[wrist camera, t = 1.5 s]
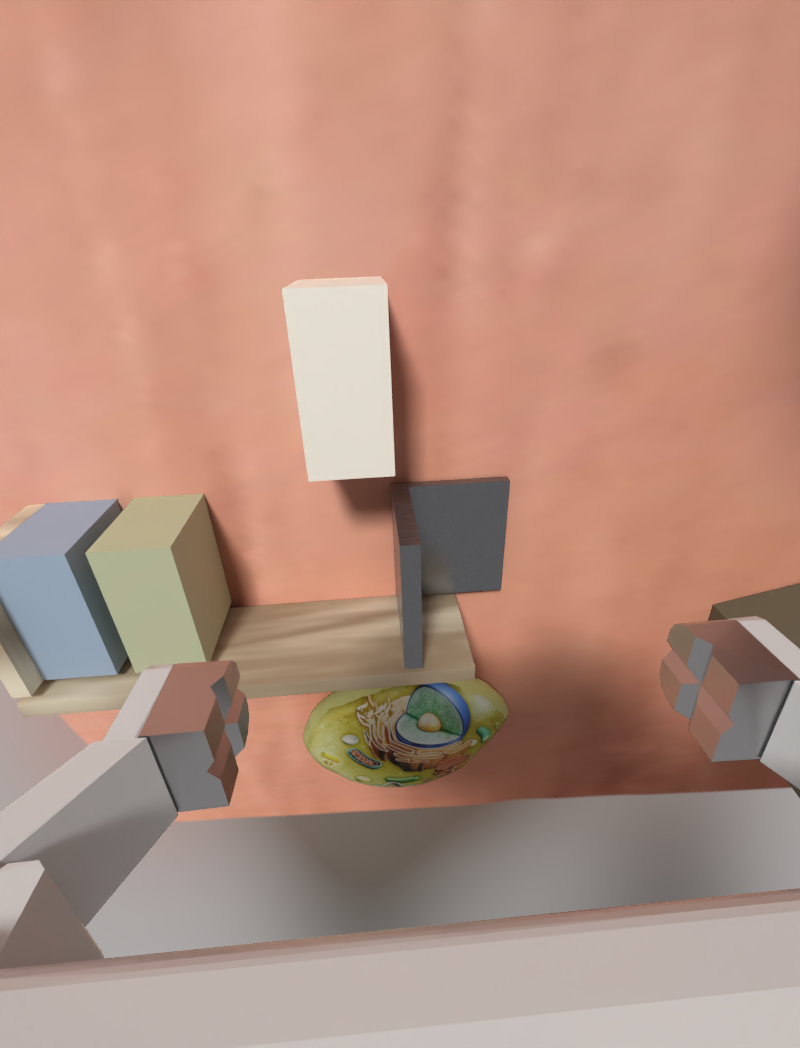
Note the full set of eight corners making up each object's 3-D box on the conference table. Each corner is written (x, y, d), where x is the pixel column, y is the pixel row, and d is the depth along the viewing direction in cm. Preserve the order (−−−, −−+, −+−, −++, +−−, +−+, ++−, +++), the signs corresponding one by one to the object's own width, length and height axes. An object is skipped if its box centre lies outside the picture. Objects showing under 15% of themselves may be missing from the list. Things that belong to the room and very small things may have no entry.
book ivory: (298, 279, 24) (281, 288, 19) (380, 276, 24) (387, 284, 19) (317, 437, 28) (308, 481, 22) (388, 433, 28) (395, 476, 23)
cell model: (283, 692, 34) (492, 721, 29) (331, 635, 41) (507, 651, 36) (308, 807, 37) (500, 851, 32) (349, 737, 44) (513, 765, 39)
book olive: (134, 497, 29) (84, 553, 23) (204, 493, 29) (170, 547, 24) (171, 604, 33) (135, 672, 27) (232, 600, 33) (207, 667, 28)
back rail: (27, 505, 28) (-63, 575, 22) (457, 478, 29) (482, 538, 23) (85, 630, 33) (23, 716, 27) (453, 602, 34) (474, 679, 28)
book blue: (47, 502, 28) (-23, 560, 23) (117, 498, 29) (64, 554, 23) (94, 610, 32) (43, 680, 27) (155, 606, 33) (117, 674, 27)
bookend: (390, 483, 29) (399, 546, 23) (507, 476, 29) (546, 536, 23) (396, 591, 33) (404, 669, 27) (498, 584, 33) (529, 659, 27)
